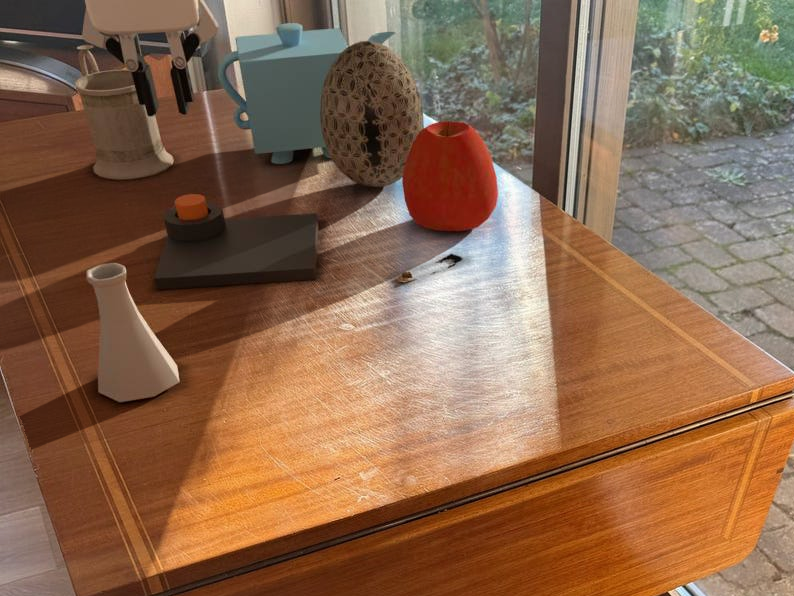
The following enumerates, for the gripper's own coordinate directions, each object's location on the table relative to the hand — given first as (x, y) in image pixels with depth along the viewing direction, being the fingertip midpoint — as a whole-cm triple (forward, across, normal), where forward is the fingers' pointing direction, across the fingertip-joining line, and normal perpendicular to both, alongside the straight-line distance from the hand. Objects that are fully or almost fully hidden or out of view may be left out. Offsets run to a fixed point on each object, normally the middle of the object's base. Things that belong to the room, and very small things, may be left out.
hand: (169, 109), depth 98 cm
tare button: (+11, 0, 0) cm, 11 cm away
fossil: (+14, -25, +11) cm, 30 cm away
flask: (+13, +2, +30) cm, 32 cm away
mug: (+13, +12, -27) cm, 32 cm away
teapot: (+13, -12, -27) cm, 33 cm away
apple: (+13, -28, 0) cm, 31 cm away
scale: (+13, -5, +4) cm, 15 cm away
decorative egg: (+13, -20, -13) cm, 27 cm away
